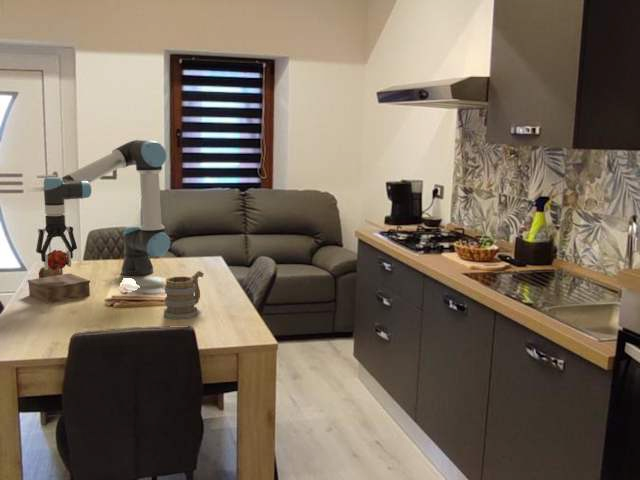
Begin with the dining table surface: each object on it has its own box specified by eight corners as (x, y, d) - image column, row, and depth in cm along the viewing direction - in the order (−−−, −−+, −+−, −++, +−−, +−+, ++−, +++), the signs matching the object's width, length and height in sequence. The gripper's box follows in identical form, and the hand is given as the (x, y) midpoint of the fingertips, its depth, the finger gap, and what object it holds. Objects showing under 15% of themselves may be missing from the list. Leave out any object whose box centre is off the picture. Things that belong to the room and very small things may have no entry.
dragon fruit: (60, 268, 283) (58, 278, 272) (42, 258, 279) (40, 268, 268) (72, 253, 282) (70, 262, 271) (54, 242, 278) (52, 252, 267)
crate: (70, 288, 291) (69, 273, 290) (90, 296, 278) (90, 280, 277) (28, 296, 278) (27, 280, 276) (48, 304, 265) (46, 288, 264)
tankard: (181, 321, 245) (180, 282, 242) (157, 315, 252) (155, 277, 249) (216, 308, 262) (215, 272, 259) (193, 303, 268) (192, 268, 266)
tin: (44, 286, 292) (43, 268, 291) (37, 286, 293) (36, 268, 291) (63, 279, 307) (62, 261, 305) (57, 278, 307) (56, 261, 306)
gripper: (77, 211, 281) (79, 262, 285) (25, 215, 267) (28, 269, 271) (84, 213, 276) (86, 265, 280) (31, 217, 262) (34, 272, 266)
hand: (57, 267), depth 276 cm, fingers closed on dragon fruit, 9 cm apart
